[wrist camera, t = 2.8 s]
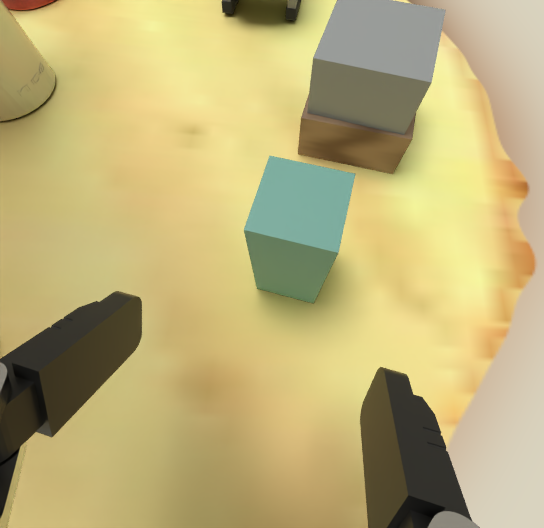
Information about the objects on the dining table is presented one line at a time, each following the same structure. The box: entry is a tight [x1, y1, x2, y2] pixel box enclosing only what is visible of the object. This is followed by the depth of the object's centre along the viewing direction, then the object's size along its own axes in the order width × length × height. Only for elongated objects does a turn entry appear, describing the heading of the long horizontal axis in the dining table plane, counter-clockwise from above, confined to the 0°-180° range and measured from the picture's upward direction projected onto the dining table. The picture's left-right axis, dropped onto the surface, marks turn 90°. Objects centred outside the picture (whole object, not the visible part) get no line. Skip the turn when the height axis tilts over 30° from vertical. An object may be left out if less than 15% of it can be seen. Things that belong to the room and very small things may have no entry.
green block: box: [244, 156, 355, 303], centre depth 19 cm, size 5×5×10 cm
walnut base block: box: [298, 95, 416, 174], centre depth 28 cm, size 9×9×4 cm
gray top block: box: [307, 0, 445, 135], centre depth 23 cm, size 8×8×4 cm
